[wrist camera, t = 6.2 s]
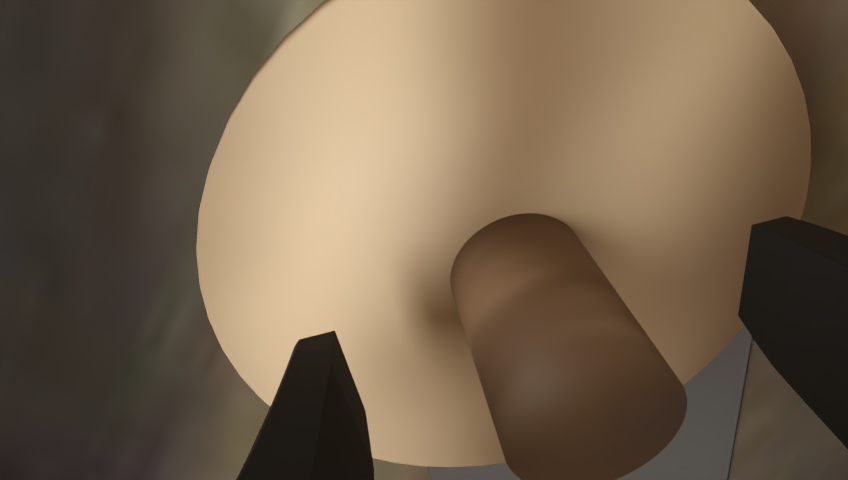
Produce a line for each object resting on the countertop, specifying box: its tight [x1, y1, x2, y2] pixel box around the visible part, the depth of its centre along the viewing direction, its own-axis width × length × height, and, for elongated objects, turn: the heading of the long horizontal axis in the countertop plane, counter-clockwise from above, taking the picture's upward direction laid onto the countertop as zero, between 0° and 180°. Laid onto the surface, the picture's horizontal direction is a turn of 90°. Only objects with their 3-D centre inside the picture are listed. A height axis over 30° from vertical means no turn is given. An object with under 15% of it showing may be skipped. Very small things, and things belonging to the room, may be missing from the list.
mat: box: [427, 325, 752, 480], centre depth 23 cm, size 13×13×1 cm
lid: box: [196, 0, 811, 480], centre depth 10 cm, size 12×12×5 cm
